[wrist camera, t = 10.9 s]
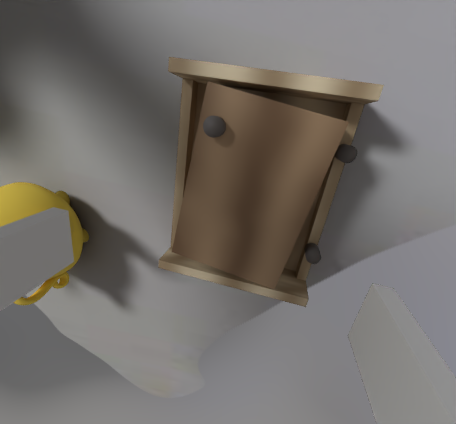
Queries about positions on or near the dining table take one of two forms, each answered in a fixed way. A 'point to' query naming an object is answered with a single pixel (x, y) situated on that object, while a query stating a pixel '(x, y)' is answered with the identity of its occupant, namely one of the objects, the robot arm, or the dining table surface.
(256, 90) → the box
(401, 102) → the dining table surface
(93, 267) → the dining table surface
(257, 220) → the door
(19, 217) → the teapot
